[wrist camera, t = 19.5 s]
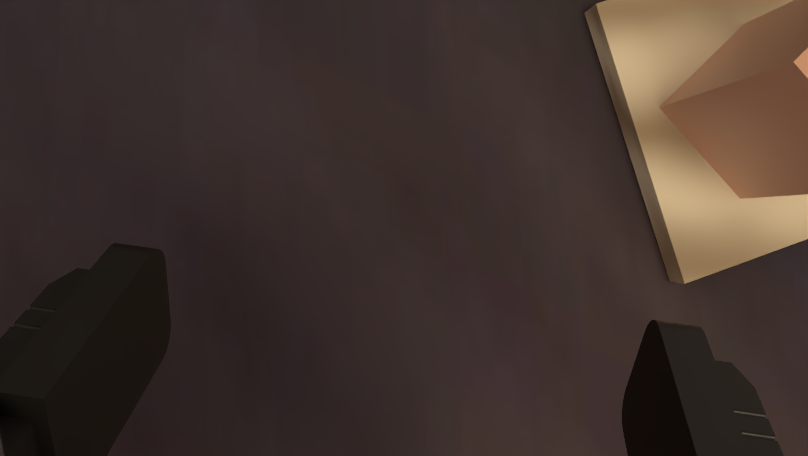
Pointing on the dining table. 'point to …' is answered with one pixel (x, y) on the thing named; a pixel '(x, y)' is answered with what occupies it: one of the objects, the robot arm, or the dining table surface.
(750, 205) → the shaft board
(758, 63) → the square capped bottle
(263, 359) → the dining table surface
